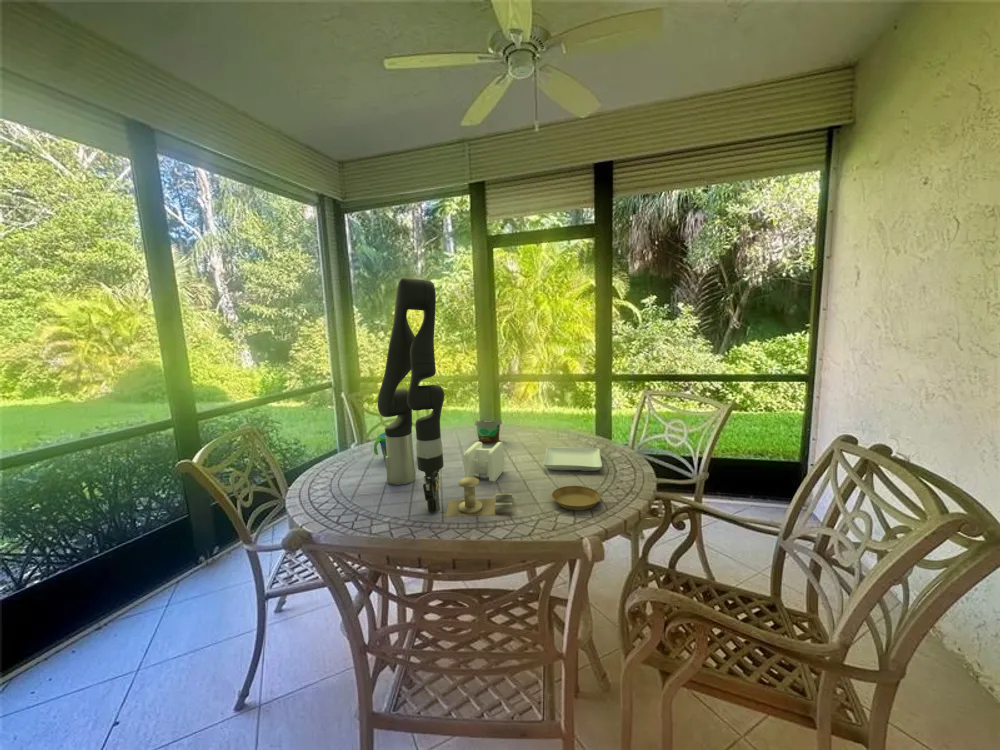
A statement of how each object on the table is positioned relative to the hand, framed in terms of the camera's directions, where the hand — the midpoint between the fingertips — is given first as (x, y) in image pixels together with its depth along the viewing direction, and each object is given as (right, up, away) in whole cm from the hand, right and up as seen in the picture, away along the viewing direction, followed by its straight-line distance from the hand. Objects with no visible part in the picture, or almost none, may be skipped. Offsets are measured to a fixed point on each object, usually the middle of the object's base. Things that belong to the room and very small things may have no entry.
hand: (433, 507), depth 130 cm
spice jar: (0, -2, 0) cm, 2 cm away
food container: (+14, +9, +68) cm, 70 cm away
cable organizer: (+14, +3, +27) cm, 30 cm away
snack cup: (-25, +5, +52) cm, 58 cm away
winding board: (+14, -1, 0) cm, 14 cm away
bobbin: (+11, 0, 0) cm, 11 cm away
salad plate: (+48, +5, +37) cm, 60 cm away
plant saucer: (+43, 0, +3) cm, 43 cm away
